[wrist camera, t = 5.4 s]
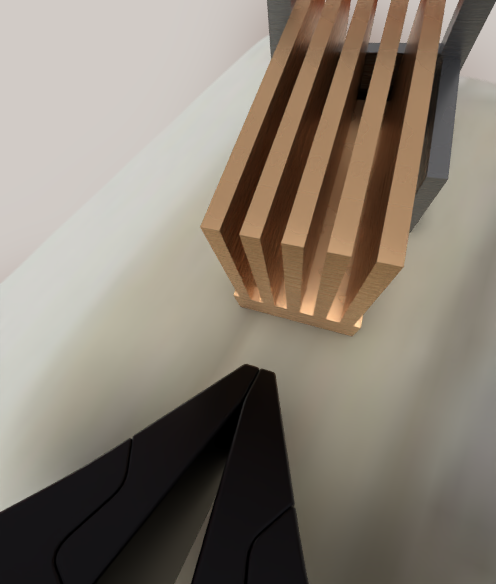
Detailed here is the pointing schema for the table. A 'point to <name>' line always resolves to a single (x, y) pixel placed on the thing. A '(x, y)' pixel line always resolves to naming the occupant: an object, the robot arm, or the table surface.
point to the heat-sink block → (327, 166)
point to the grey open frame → (442, 106)
